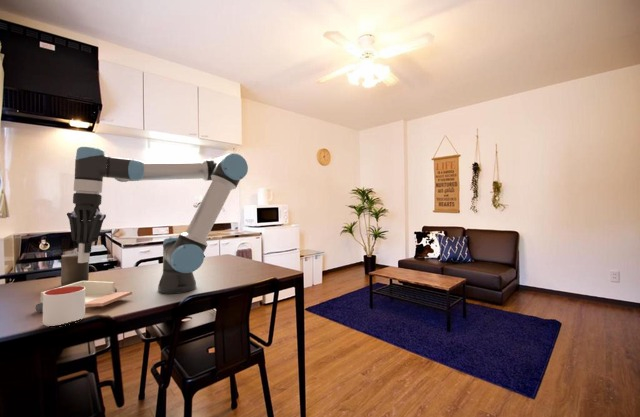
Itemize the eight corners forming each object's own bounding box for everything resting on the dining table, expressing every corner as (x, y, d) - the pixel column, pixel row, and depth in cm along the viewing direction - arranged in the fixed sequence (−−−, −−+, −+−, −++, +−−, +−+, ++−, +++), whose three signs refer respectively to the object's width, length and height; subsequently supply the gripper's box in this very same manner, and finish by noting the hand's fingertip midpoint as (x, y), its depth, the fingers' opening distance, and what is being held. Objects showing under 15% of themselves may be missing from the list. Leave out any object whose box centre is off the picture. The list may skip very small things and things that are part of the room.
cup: (59, 330, 84) (60, 296, 84) (33, 326, 86) (34, 293, 86) (93, 317, 94) (93, 287, 94) (68, 314, 96) (69, 284, 96)
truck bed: (119, 295, 117) (119, 280, 117) (69, 314, 96) (70, 296, 96) (88, 293, 118) (88, 279, 118) (32, 312, 97) (32, 294, 97)
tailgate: (112, 295, 113) (132, 294, 112) (81, 306, 100) (103, 305, 99) (112, 292, 113) (131, 291, 112) (80, 304, 100) (102, 303, 99)
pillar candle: (86, 285, 130) (87, 252, 130) (58, 288, 124) (59, 254, 124) (89, 280, 138) (90, 249, 138) (63, 283, 133) (63, 251, 133)
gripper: (114, 194, 100) (110, 261, 99) (81, 193, 101) (77, 259, 101) (94, 193, 92) (89, 265, 92) (60, 191, 94) (55, 262, 94)
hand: (83, 262), depth 96 cm, fingers closed
